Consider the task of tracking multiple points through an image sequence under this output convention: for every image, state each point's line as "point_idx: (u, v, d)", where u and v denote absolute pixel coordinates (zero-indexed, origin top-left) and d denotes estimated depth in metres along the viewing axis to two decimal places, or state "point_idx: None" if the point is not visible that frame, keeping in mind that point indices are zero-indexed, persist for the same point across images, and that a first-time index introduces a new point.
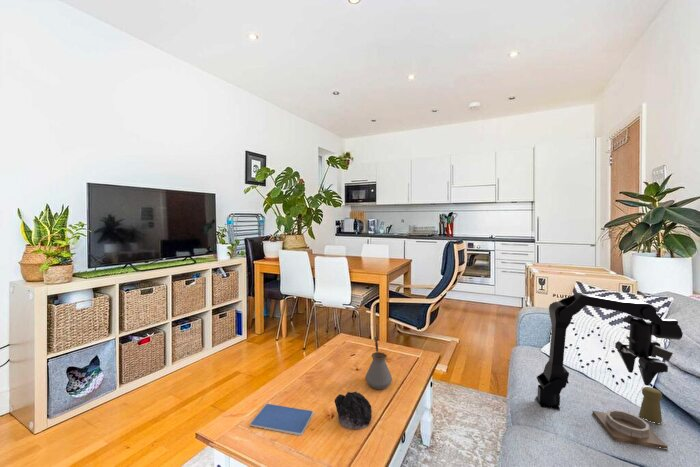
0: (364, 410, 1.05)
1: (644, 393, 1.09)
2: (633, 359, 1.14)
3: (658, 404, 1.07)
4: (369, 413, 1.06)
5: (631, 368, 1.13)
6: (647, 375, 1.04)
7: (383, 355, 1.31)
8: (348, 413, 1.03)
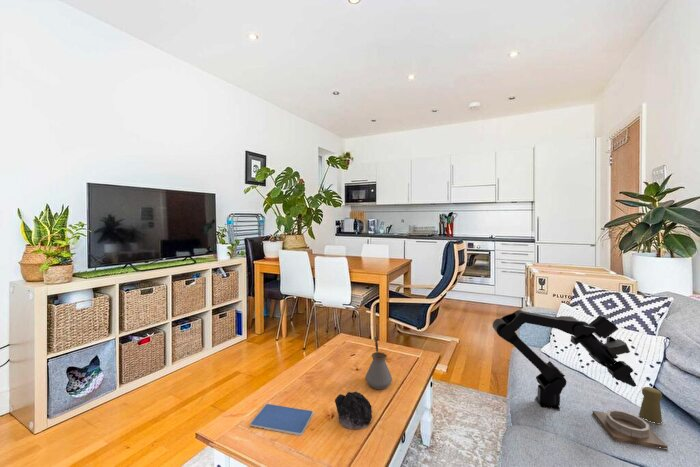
0: (364, 410, 1.05)
1: (644, 393, 1.09)
2: None
3: (658, 404, 1.07)
4: (369, 413, 1.06)
5: None
6: (626, 379, 1.06)
7: (383, 355, 1.31)
8: (348, 413, 1.03)
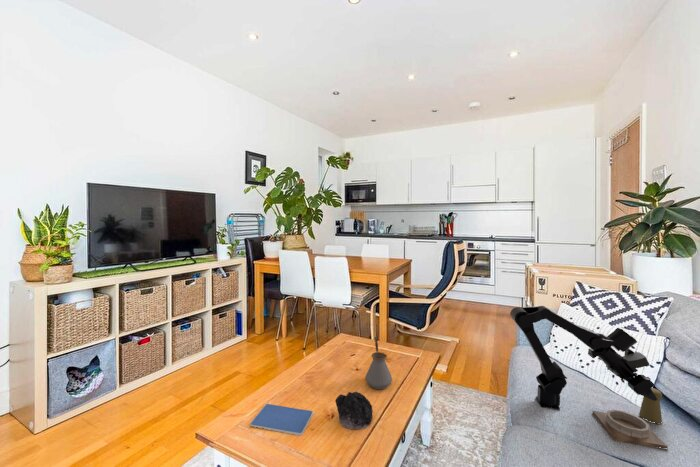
0: (365, 410, 1.05)
1: None
2: None
3: (658, 404, 1.07)
4: (370, 413, 1.06)
5: None
6: (647, 393, 1.05)
7: (383, 355, 1.31)
8: (349, 413, 1.03)
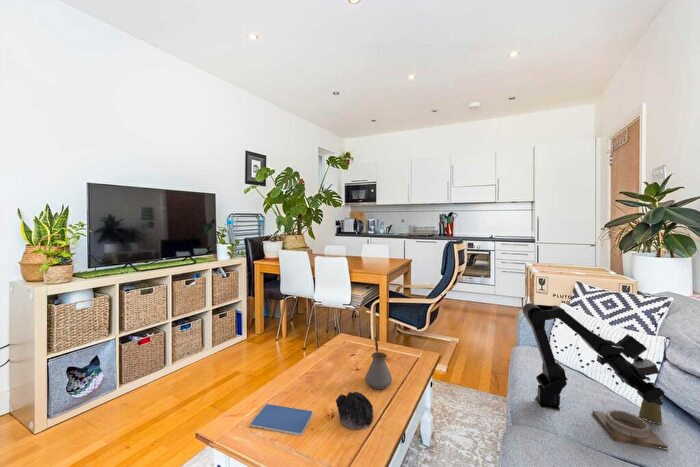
0: (365, 410, 1.05)
1: None
2: (641, 383, 1.12)
3: None
4: (370, 413, 1.06)
5: None
6: None
7: (383, 355, 1.31)
8: (349, 413, 1.03)
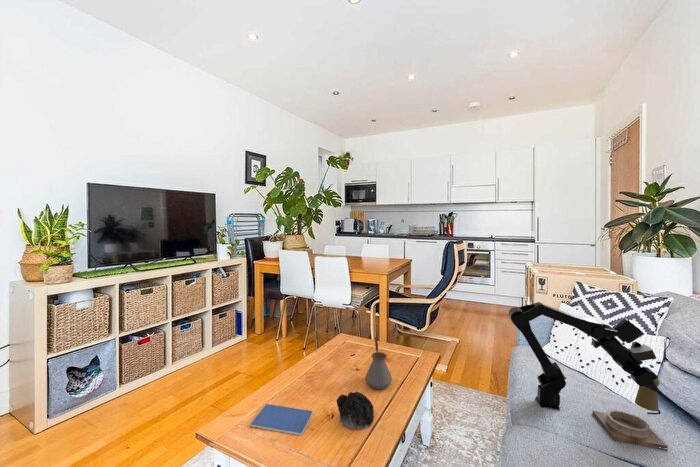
0: (366, 410, 1.05)
1: None
2: None
3: (654, 391, 1.04)
4: (371, 413, 1.06)
5: None
6: (648, 384, 1.03)
7: (383, 355, 1.31)
8: (350, 413, 1.03)
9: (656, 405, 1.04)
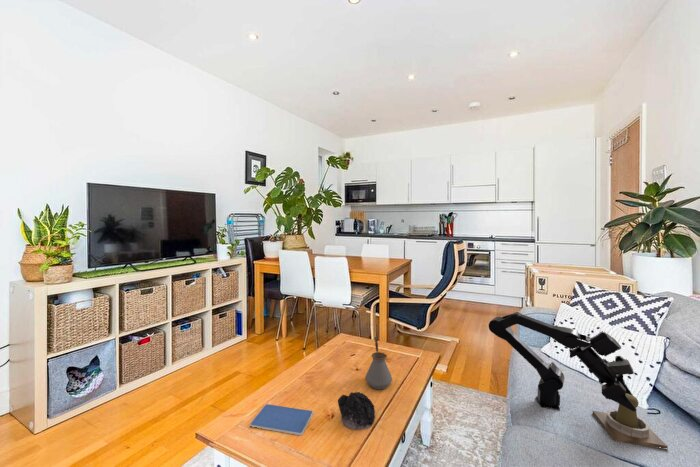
0: (367, 410, 1.05)
1: None
2: (622, 383, 1.07)
3: (632, 411, 1.01)
4: (372, 413, 1.06)
5: (628, 393, 1.06)
6: (623, 401, 0.99)
7: (383, 355, 1.31)
8: (351, 413, 1.03)
9: (634, 427, 1.00)
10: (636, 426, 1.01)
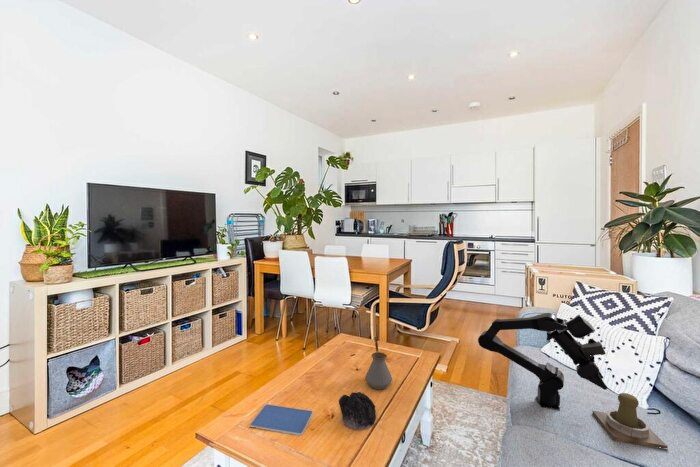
0: (368, 410, 1.05)
1: (618, 398, 1.04)
2: None
3: (632, 411, 1.01)
4: (373, 413, 1.06)
5: (598, 374, 1.12)
6: (595, 380, 1.04)
7: (383, 355, 1.31)
8: (352, 413, 1.03)
9: (634, 427, 1.00)
10: (636, 426, 1.01)
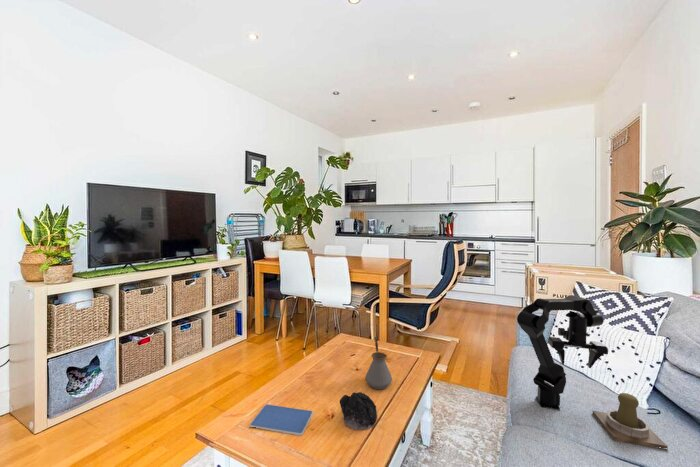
0: (369, 410, 1.05)
1: (618, 398, 1.04)
2: None
3: (632, 411, 1.01)
4: (374, 413, 1.06)
5: None
6: None
7: (383, 355, 1.31)
8: (353, 413, 1.03)
9: (634, 427, 1.00)
10: (636, 426, 1.01)
